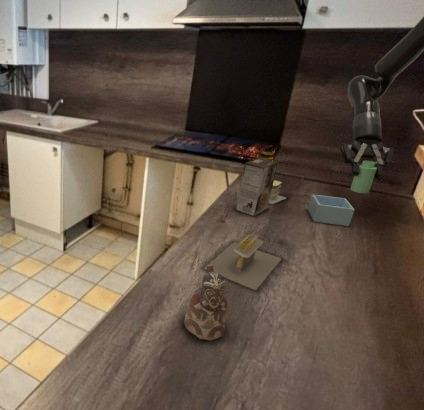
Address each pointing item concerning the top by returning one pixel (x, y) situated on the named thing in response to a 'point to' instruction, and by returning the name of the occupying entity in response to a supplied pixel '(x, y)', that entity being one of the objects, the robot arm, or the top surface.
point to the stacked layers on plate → (275, 193)
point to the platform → (245, 263)
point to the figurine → (208, 307)
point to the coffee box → (256, 186)
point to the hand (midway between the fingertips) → (367, 175)
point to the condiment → (266, 155)
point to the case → (330, 210)
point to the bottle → (364, 177)
